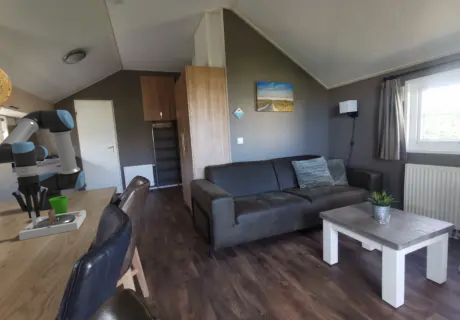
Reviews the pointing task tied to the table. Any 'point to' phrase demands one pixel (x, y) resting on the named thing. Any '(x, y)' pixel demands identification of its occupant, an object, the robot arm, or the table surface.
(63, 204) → the cup
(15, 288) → the table surface
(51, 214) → the dial
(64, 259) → the table surface
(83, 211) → the white square tray
